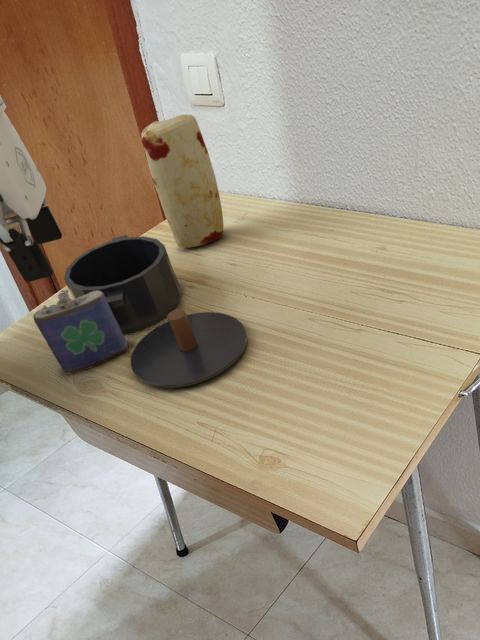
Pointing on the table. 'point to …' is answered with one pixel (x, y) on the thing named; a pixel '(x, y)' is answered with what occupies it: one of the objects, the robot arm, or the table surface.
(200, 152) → the food model
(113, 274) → the pan
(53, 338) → the flask
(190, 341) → the pan lid
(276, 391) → the table surface
